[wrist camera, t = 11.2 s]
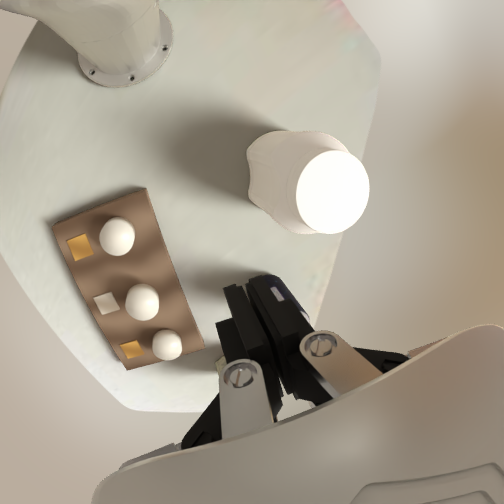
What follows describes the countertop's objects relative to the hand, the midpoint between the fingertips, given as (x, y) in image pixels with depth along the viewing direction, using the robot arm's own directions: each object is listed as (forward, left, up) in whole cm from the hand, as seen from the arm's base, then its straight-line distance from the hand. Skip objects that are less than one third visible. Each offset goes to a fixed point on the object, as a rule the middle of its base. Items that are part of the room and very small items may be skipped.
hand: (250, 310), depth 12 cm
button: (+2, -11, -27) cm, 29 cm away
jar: (+1, +12, -29) cm, 32 cm away
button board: (+11, -13, -29) cm, 34 cm away
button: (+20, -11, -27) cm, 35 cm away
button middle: (+11, -11, -25) cm, 30 cm away
